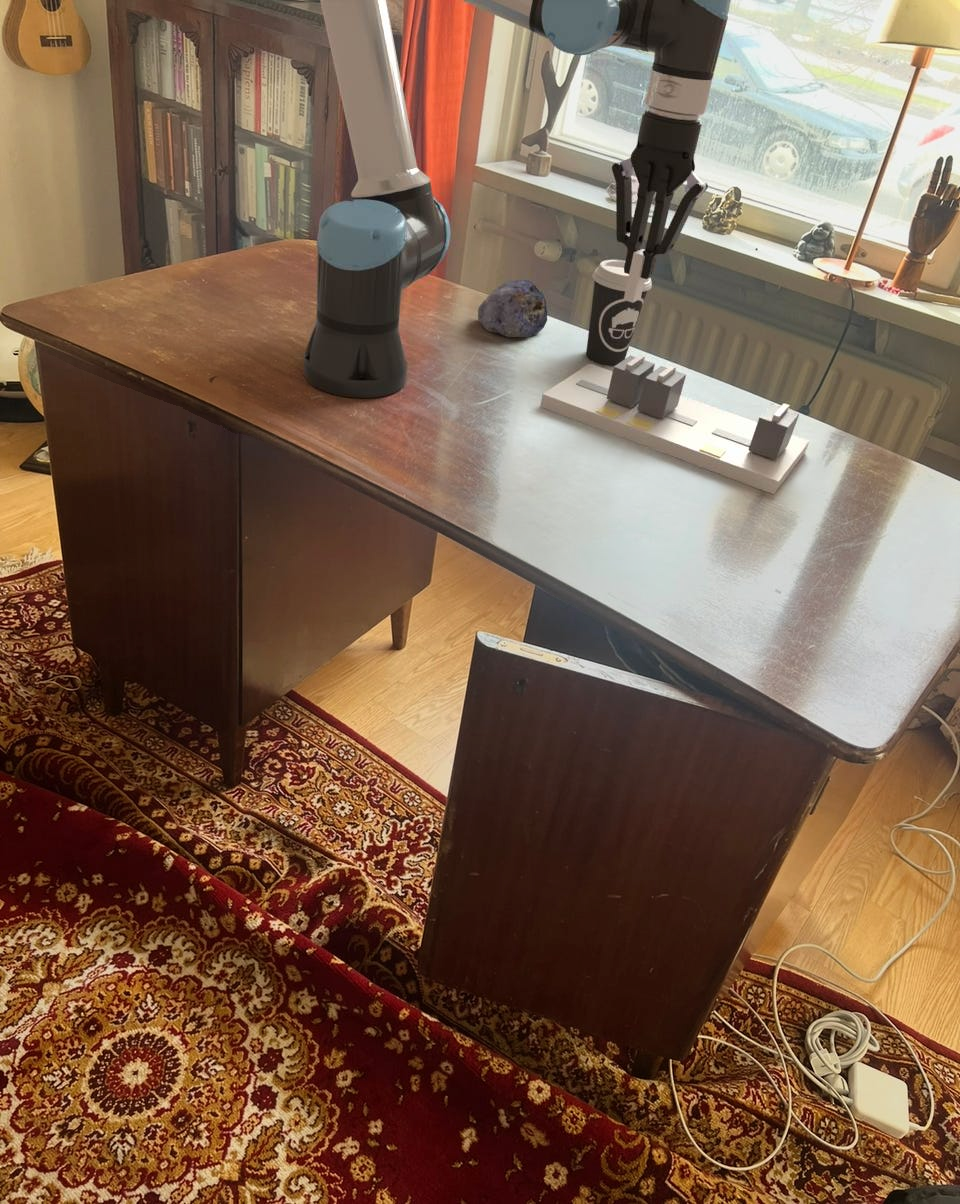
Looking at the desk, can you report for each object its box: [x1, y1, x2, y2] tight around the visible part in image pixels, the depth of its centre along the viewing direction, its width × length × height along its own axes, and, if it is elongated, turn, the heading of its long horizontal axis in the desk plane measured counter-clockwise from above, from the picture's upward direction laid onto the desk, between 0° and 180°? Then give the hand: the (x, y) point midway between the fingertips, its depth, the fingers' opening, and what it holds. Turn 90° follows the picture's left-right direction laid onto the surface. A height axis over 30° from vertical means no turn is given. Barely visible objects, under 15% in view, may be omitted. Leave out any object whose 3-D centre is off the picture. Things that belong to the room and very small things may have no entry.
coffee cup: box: [585, 259, 653, 367], centre depth 150 cm, size 10×10×15 cm
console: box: [540, 363, 810, 495], centre depth 135 cm, size 36×16×2 cm, turn 59°
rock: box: [477, 279, 548, 338], centre depth 158 cm, size 11×10×10 cm
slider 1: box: [607, 354, 656, 408], centre depth 135 cm, size 4×6×6 cm, turn 149°
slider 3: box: [748, 403, 800, 460], centre depth 128 cm, size 4×6×6 cm, turn 149°
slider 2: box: [637, 364, 687, 419], centre depth 134 cm, size 4×6×6 cm, turn 149°
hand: (632, 298), depth 130 cm, fingers closed
